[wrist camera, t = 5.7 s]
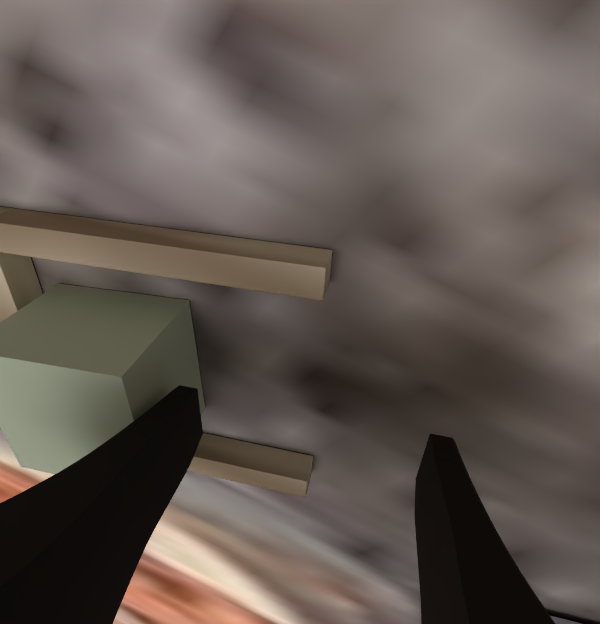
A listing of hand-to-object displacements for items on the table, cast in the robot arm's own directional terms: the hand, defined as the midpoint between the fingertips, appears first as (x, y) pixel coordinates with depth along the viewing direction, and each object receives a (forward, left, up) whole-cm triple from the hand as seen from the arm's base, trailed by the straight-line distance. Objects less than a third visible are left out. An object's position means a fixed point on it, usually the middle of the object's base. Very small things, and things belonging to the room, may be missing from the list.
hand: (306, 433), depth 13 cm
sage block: (0, +7, -2) cm, 7 cm away
